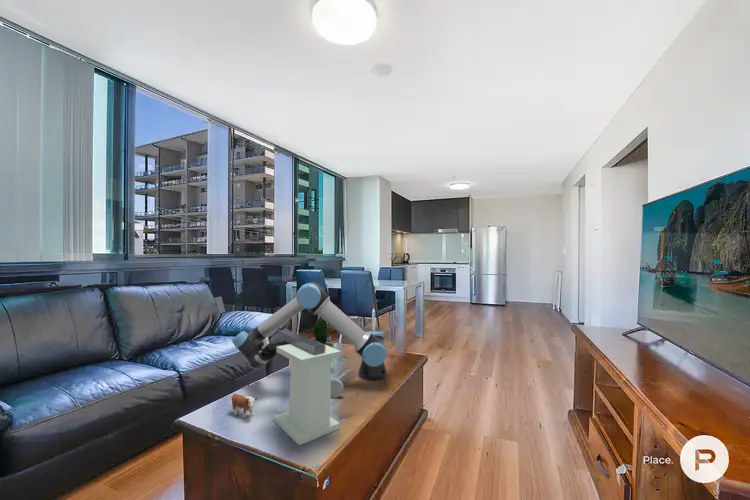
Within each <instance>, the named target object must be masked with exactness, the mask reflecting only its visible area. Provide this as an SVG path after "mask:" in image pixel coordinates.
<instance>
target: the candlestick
mask: <svg viewBox="0 0 750 500" xmlns="http://www.w3.org/2000/svg"><path fill="white" fill-rule="evenodd" d="M372 308H373V309H372V311H371V331H376V328H375V327H376V310H375V304H373V306H372Z"/></svg>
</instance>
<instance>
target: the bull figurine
mask: <svg viewBox="0 0 750 500" xmlns="http://www.w3.org/2000/svg"><path fill="white" fill-rule="evenodd" d="M257 400H258V397H253V396H247V395H246V396H245V395H242V394H238V393H234V394H232V397H231V409H232V411H234V416H238V415H239V414H238V412H240V410H243V415H242V417H243V418H244V419H246V417H247V416H246V413H247V412H249V416H250V417H253V416H254V414H253V409H252V408H254V407H255V401H257Z"/></svg>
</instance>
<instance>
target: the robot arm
mask: <svg viewBox="0 0 750 500" xmlns="http://www.w3.org/2000/svg"><path fill="white" fill-rule="evenodd" d="M303 310H307V311H308V312H310V313H311V314H312V315H318V316H319V317H321V318H323V319H324V320H325V321H326V322H327V324H328V325H329V326H331V327H332V328H333V329H334V330H335V331H337V333H339V334H340V335H341V336H342V337H343V338H344V339H346V340H347V341H348V343H350V344H352V345H353V347H354V352H355V353H357V355H359V356H360V357H361V362H360V365H359V367H358V377H359V378H361V379H364V380H367V381H379V380H383V379H385V378H387V368H386V365H385V361H386V359H387V353H388V352H387V348H386V346H385V333H384V332H382V331H376V330H375V331H372V330H371V331H370V330H369V331H365V330H363V328H361V327H360V326H359V325H358V324H357V323H355V322H354V320H352V319H351V318H350V317H349V316H348V315H346V314H345V313H344V312H343V311H342V310H341V309H340V308H339V307H337V306H336V305H335V304H334V303H333V302H332V301H331V298H330V296H329V294H328V293H326V292H325V290H324V287H323V286H322V285H321V283H318V282H315V281H311V282H307V283H305V284H302V285H301V286H300V288H299V289H298V290H297V293H296V295H295V297H294V298H293V299H292V300H290V301H289V302H288V303H286V304H285V305H284V306H283V307H281V308H280V309H278V310H276V312H274V313H273V314H272V315H271V316H269V317H267V318H266V319H265V320H264V321H263V322H261V323H259V324H258V325H257V326H255V327H254V328H253V329H252V330H250V331H249V332H246V331H245V330H242V331H241V332H239V333H238V334H237V335H236V336H235V337H233V339H232V340H231V342H232V344H233V346H235V348H236V349H237V350H238V351H239V352H240V353H241V354H242V355H243V356H244V357H245V359H246V360H247V364H248V367H249V368H250V369H252V370H258V369H261V368H262V367H263V366H265V365H267V364H268V363H269V361H271V360H272V359H273V358H274V357H275V356H276V354H277V352H276V347H277V346H282V345H288V344H290V343H288V342H286V341H284V340H282V341H281V342H280V341H278V342H276V343H272V342H269V341H270V340H269V337H268V336H270V335H271V334H272V333H274V332H275V331H276V330H278V329H279V328H280V327H282V326H283V325H285V324H286V323H287V322H289V321H290V320H291V319H293V318H295V316H296V315H298V314H299V313H300V312H302V311H303ZM296 333H297V334H299V332H296Z"/></svg>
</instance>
